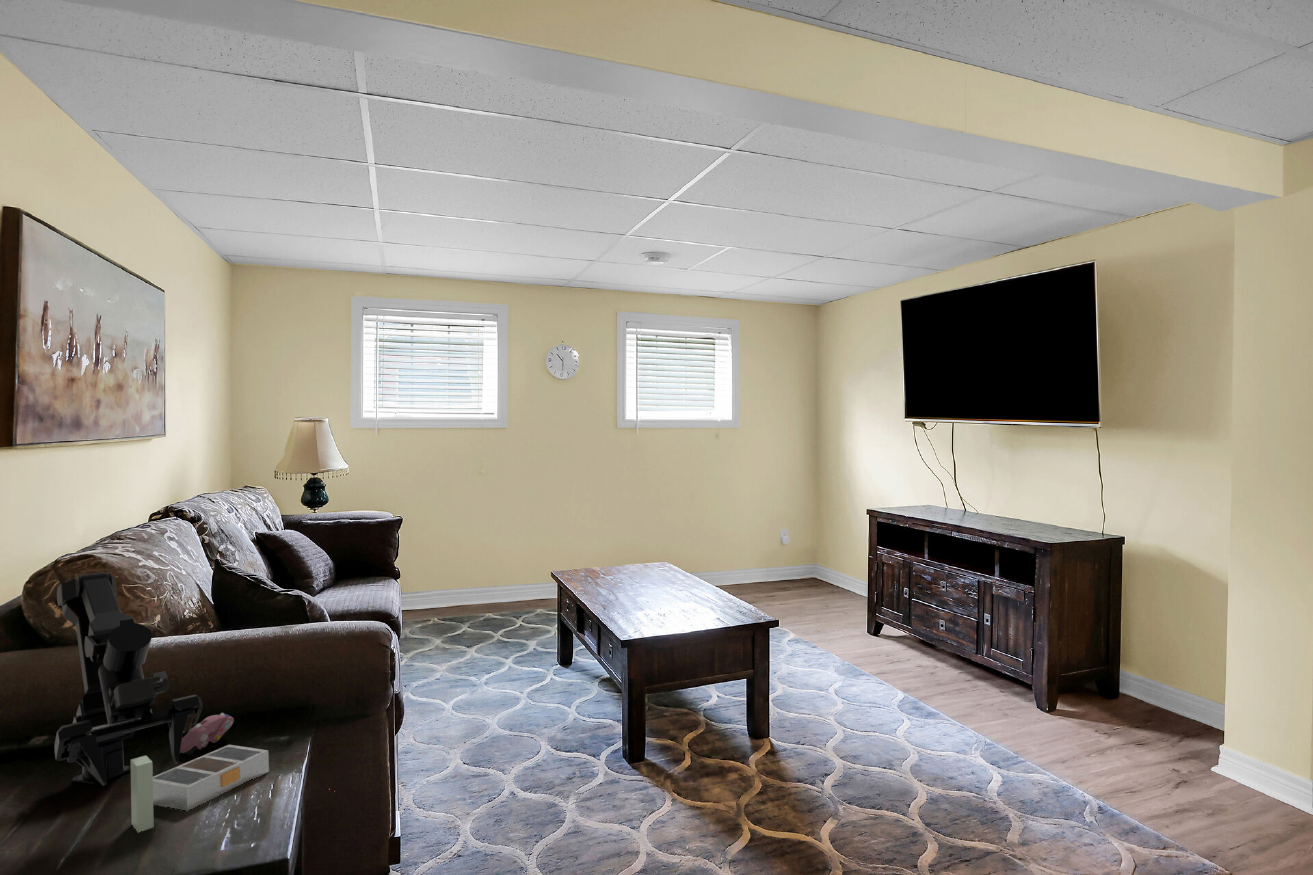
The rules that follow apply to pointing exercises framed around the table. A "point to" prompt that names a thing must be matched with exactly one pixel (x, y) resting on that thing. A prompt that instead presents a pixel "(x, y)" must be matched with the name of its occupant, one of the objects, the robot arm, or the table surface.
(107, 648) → the robot arm
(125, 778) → the table surface
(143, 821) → the pale green rectangular block
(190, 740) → the video game controller
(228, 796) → the table surface
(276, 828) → the table surface
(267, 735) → the table surface
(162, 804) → the rack
